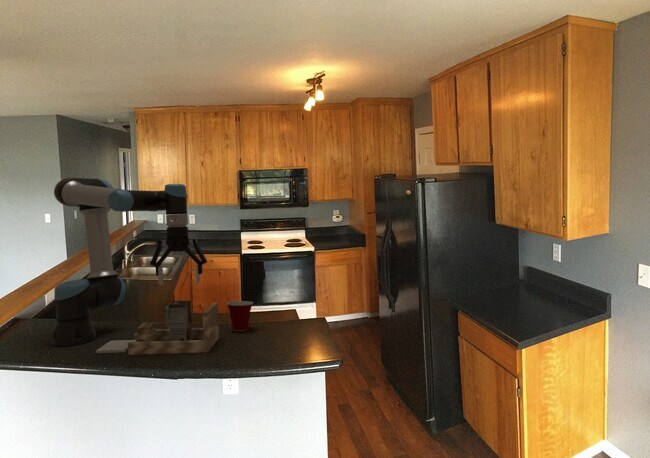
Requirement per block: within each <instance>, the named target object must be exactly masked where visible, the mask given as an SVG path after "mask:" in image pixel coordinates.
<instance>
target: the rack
mask: <svg viewBox="0 0 650 458" xmlns="http://www.w3.org/2000/svg"><path fill="white" fill-rule="evenodd" d="M202 324H203V325H202V327H199V328H198V327H197V328H196V327H195V328H194V327H192V340H187V341H170V329H169V328H167V329H165V328H164V329H156V337H157V338H158V341H154V342H129V343H128V350H127V355H129V356H132V355H134V356H136V355H160V354H161V355H162V354H166V355H167V354H168V355H169V354H192V353H193V354H194V353H197V354H198V353H199V354H200V353H209V352H210V351H211V350H212V348H213V347H214V345H215V344H216V342H217V341H218V340H219V339H220V330H219V329H220V328H219V327H220V326H219V324H220V323H219V302H213V303H211V304H210V306H209V307H207V309H205V310H204V311H203V312H202ZM193 339H197V340H193Z"/></svg>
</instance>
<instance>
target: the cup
mask: <svg viewBox="0 0 650 458" xmlns="http://www.w3.org/2000/svg"><path fill="white" fill-rule="evenodd" d="M165 317H166V318H165V320H166V326H167V329H170V328H169V305H167V306H165Z"/></svg>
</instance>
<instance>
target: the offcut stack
mask: <svg viewBox="0 0 650 458" xmlns="http://www.w3.org/2000/svg"><path fill="white" fill-rule="evenodd" d="M155 325H156V324H155V322H154V321H153V322H142V323H141V324H140V325H139V326H138V327H136V332H135V333H134V334H133V340H136V342H154V341H158V338H157V337H156V330H157V328H156V327H155Z"/></svg>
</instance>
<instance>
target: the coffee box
mask: <svg viewBox="0 0 650 458" xmlns="http://www.w3.org/2000/svg"><path fill="white" fill-rule="evenodd" d="M168 306H169V328H170V340H169V341H187V340H192V328H193V323H192V322H193V321H192V301H191V300H174V301H172V303H170V305H168ZM169 328H168V329H169Z"/></svg>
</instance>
